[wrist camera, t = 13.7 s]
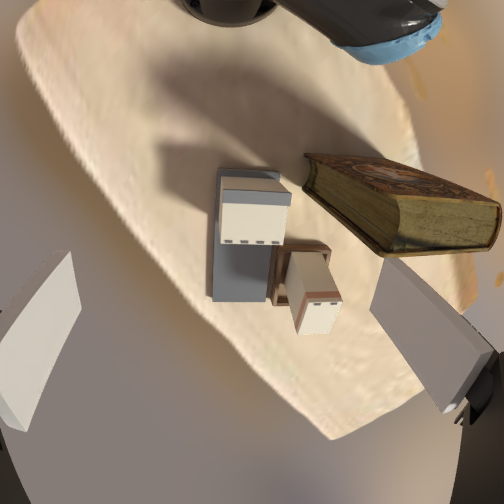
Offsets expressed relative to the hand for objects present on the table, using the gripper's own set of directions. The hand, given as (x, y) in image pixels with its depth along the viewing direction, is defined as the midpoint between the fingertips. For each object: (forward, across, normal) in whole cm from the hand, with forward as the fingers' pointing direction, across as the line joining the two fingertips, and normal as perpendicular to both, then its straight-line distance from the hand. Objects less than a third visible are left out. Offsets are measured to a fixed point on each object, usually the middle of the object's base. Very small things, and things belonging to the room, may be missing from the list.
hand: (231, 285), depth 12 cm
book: (+35, +21, 0) cm, 41 cm away
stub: (+33, +15, -16) cm, 40 cm away
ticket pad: (+34, +5, -6) cm, 34 cm away
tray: (+35, +15, -18) cm, 42 cm away
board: (+35, +5, -12) cm, 37 cm away
